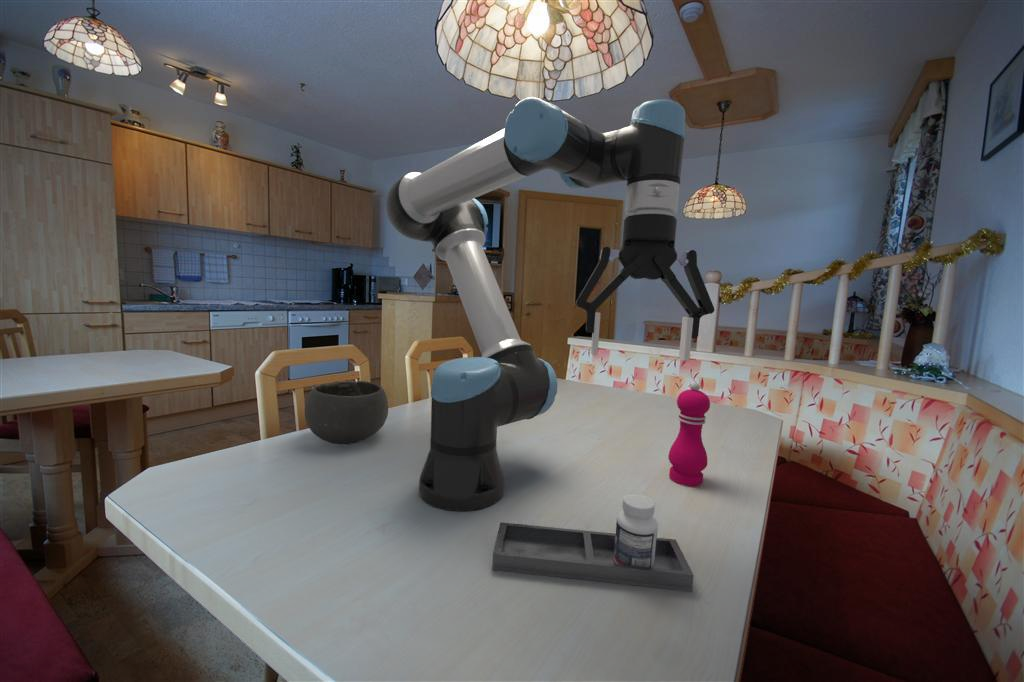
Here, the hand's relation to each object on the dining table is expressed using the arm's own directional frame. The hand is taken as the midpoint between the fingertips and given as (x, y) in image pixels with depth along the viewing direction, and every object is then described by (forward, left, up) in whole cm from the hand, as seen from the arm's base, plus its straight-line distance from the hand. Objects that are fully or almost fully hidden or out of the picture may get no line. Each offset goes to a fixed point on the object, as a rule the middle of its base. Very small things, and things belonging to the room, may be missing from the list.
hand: (638, 357), depth 65 cm
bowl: (-59, +24, -27) cm, 69 cm away
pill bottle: (-1, -12, -26) cm, 29 cm away
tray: (-7, -12, -27) cm, 30 cm away
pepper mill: (+15, +18, -27) cm, 36 cm away
